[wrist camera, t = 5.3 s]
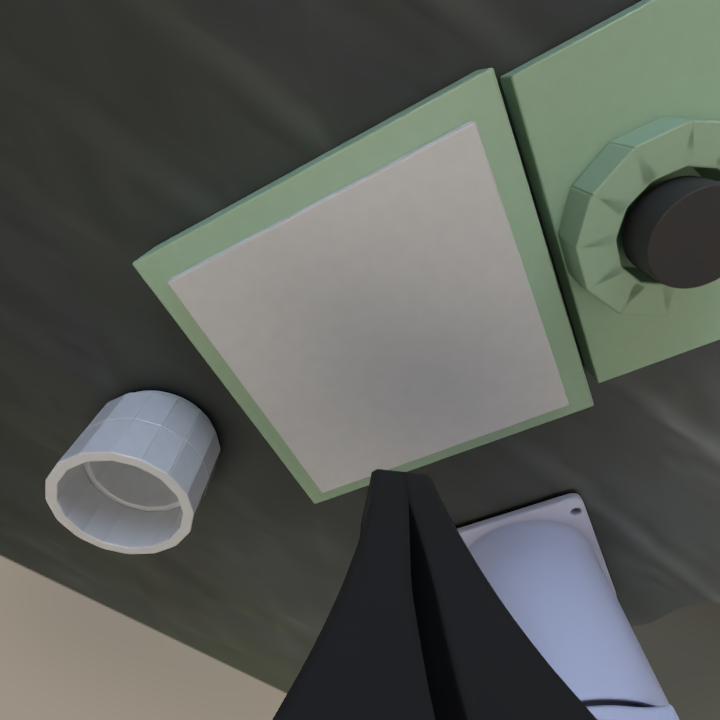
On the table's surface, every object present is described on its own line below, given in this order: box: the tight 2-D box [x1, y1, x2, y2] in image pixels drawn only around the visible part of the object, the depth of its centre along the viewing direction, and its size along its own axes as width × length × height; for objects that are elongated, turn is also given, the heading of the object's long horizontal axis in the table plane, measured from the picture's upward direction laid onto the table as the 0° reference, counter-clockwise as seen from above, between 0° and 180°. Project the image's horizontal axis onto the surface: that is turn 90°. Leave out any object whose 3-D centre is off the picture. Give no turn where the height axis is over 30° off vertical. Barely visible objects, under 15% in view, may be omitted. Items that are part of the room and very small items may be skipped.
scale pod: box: [500, 0, 720, 383], centre depth 16 cm, size 12×6×3 cm, turn 26°
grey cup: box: [45, 390, 220, 554], centre depth 20 cm, size 6×6×4 cm
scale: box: [133, 68, 594, 504], centre depth 18 cm, size 13×13×3 cm
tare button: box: [622, 176, 720, 289], centre depth 14 cm, size 3×3×2 cm
